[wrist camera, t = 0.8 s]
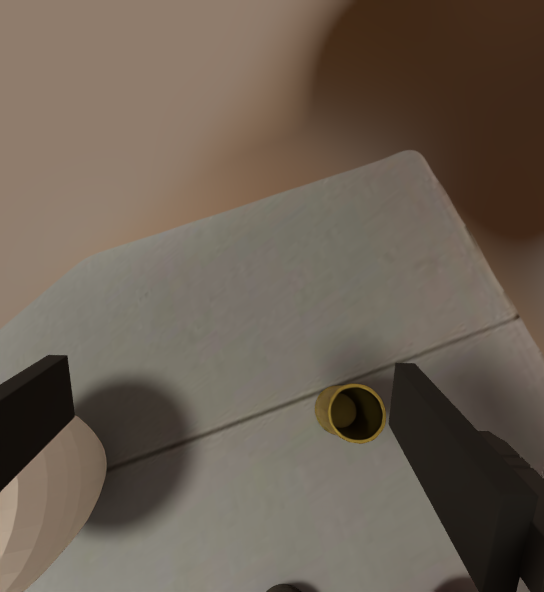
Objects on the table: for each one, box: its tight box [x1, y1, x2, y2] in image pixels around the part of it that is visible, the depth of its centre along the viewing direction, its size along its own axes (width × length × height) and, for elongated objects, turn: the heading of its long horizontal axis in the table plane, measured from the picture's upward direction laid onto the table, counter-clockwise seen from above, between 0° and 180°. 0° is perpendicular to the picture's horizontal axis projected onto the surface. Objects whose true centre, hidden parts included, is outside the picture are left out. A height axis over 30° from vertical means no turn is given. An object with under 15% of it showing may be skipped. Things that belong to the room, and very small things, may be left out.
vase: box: [315, 384, 386, 444], centre depth 38 cm, size 6×6×14 cm
